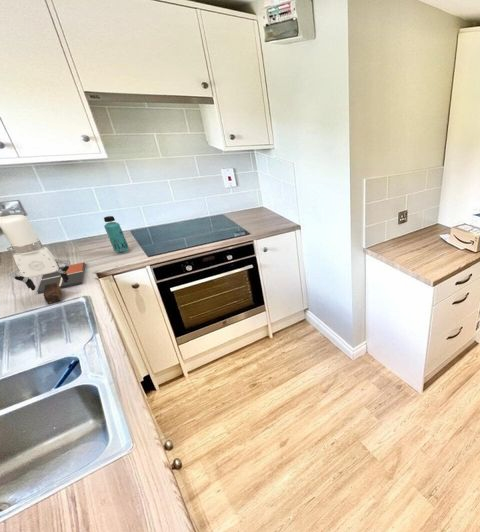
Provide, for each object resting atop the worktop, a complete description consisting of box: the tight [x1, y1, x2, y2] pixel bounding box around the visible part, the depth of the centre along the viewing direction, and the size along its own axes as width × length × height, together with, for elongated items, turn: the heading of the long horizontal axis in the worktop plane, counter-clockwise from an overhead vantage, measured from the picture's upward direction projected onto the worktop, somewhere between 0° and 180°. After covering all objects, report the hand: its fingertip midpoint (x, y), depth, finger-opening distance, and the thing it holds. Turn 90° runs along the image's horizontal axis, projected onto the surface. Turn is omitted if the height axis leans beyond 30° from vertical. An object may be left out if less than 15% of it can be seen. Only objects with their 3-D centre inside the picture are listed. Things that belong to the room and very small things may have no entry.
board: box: [36, 261, 86, 294], centre depth 148 cm, size 14×24×1 cm, turn 39°
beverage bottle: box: [103, 215, 129, 253], centre depth 169 cm, size 6×7×20 cm
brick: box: [43, 283, 63, 305], centre depth 132 cm, size 11×4×5 cm, turn 42°
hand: (50, 285), depth 131 cm, fingers open, 9 cm apart
